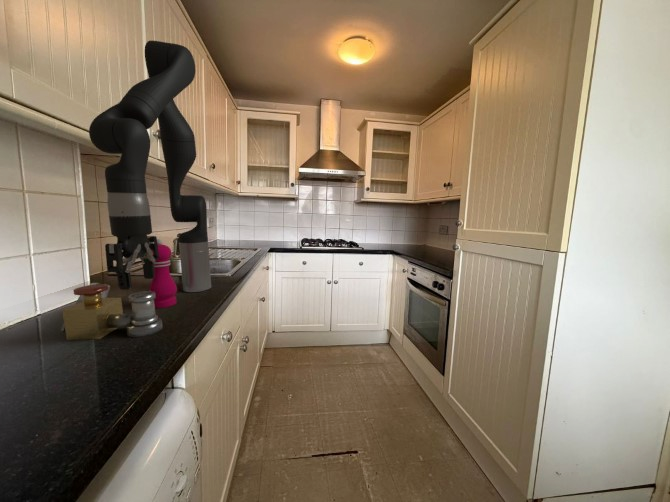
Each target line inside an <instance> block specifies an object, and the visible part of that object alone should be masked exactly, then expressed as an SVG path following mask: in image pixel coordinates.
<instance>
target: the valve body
mask: <svg viewBox="0 0 670 502" xmlns="http://www.w3.org/2000/svg"><path fill="white" fill-rule="evenodd" d="M108 285H109V284H107V285H106V283H103V284H102V283H100V284H96V285H89V284H88V285H84V286H79V287H76V288H74V289H73V295H75V296H80V295H83V300H84V301H83V302H81V303H78V304H76V303H75V304H74V305H73V304H72V306H68V307H66V308H64V309H61V312H62V319H63V324H64V325H65V330H64V331H65V336H66V341H71V340H72V341H74V340H81V341H82V340H101V339H103V338H104V337H106V336H107V335H109V334H110V333H112V332H114V331H115V330H117V329H126V335H127V336H128V337H131V338H140V337H147V336H151V335H154V334H156V333H157V332H160V331H161V330H162V329H163V321H162V318H161V317H160V316H158V321H157V322H156V323H154V324H152V325H149V326H144V327H133V326H132V322H131V320H132V319H133V313H123V312H124V310H123V309H124V308H123V303H122V297H107V298H102V296H101V292H104V291H106V290H108Z"/></svg>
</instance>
